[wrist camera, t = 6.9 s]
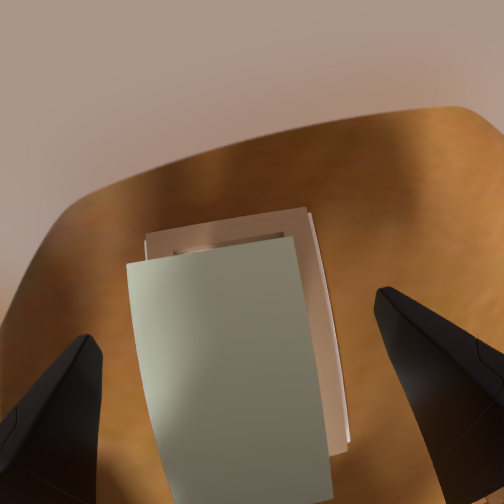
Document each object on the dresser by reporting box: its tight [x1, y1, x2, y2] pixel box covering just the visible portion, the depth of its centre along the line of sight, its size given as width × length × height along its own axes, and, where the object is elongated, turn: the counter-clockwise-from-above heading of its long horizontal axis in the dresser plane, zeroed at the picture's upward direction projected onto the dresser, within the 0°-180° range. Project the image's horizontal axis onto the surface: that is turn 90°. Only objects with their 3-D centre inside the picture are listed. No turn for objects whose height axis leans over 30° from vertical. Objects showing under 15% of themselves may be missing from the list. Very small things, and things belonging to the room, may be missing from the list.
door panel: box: [126, 236, 334, 504], centre depth 11 cm, size 6×4×11 cm, turn 10°
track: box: [144, 207, 350, 456], centre depth 16 cm, size 14×10×2 cm
